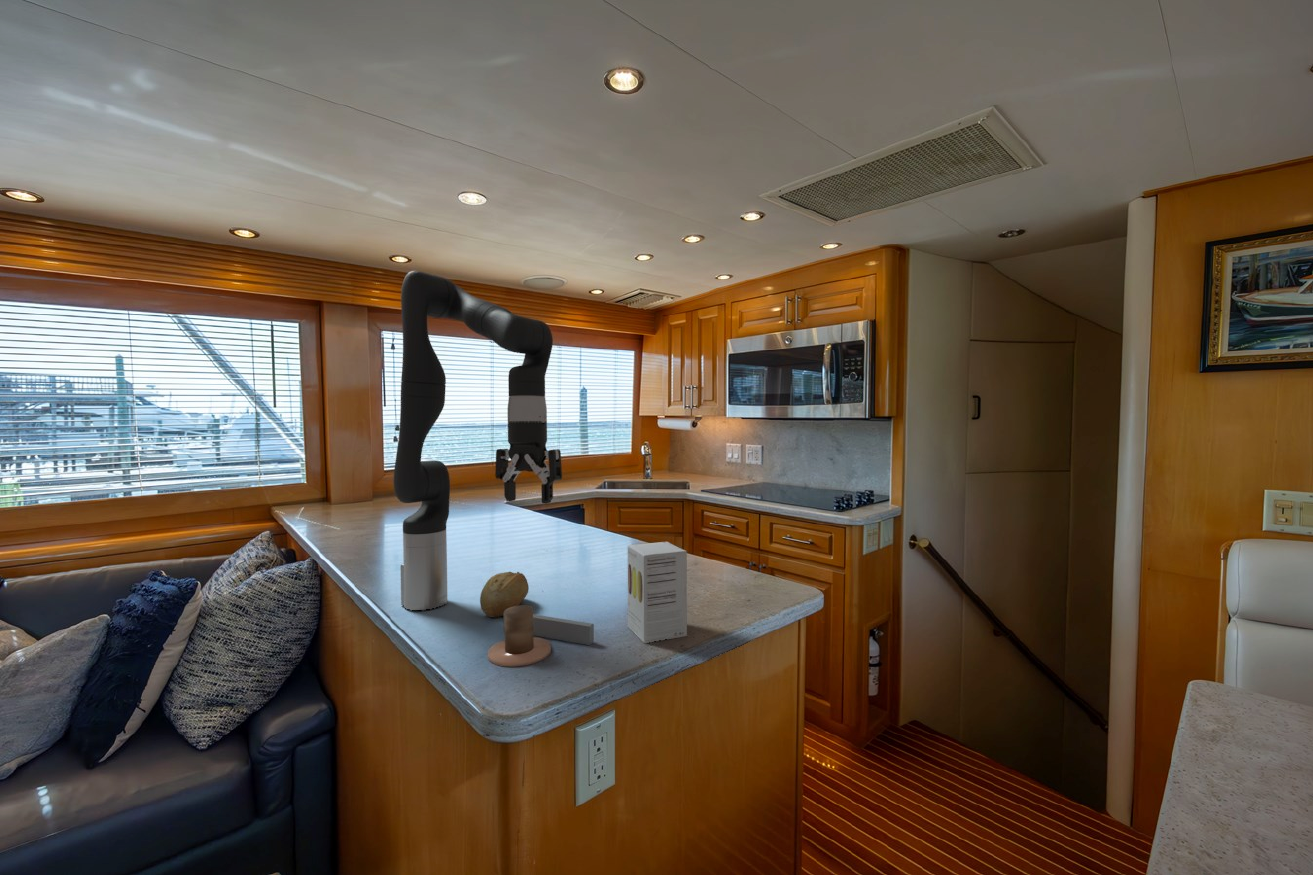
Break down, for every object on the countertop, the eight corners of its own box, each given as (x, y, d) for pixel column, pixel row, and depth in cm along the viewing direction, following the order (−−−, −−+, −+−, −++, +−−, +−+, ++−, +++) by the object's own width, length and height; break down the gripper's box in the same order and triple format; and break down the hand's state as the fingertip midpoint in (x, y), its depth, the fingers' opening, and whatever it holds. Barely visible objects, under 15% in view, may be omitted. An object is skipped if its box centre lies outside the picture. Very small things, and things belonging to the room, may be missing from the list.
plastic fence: (503, 629, 107) (503, 612, 107) (508, 627, 109) (508, 610, 109) (589, 645, 99) (589, 626, 99) (593, 642, 101) (593, 623, 101)
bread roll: (536, 597, 128) (535, 564, 128) (516, 620, 113) (516, 582, 113) (496, 597, 128) (496, 564, 128) (472, 620, 113) (471, 582, 113)
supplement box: (626, 627, 108) (625, 544, 108) (668, 620, 112) (667, 540, 112) (644, 644, 99) (643, 554, 99) (688, 636, 103) (687, 549, 103)
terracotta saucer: (474, 660, 93) (474, 655, 93) (514, 637, 103) (514, 633, 103) (526, 671, 89) (526, 666, 89) (562, 646, 99) (562, 641, 99)
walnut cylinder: (499, 651, 95) (498, 612, 95) (516, 641, 99) (516, 603, 99) (522, 656, 93) (521, 616, 93) (539, 645, 97) (538, 607, 97)
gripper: (485, 420, 104) (486, 502, 104) (546, 419, 98) (547, 506, 99) (510, 420, 111) (511, 498, 111) (568, 419, 105) (569, 501, 106)
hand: (528, 501), depth 105 cm, fingers open, 8 cm apart
